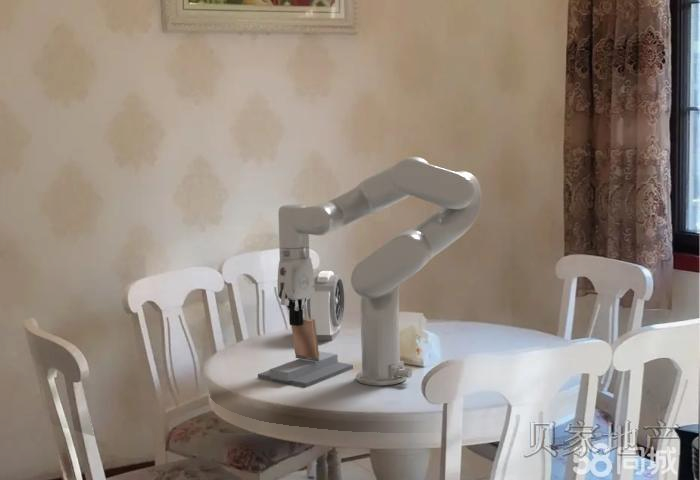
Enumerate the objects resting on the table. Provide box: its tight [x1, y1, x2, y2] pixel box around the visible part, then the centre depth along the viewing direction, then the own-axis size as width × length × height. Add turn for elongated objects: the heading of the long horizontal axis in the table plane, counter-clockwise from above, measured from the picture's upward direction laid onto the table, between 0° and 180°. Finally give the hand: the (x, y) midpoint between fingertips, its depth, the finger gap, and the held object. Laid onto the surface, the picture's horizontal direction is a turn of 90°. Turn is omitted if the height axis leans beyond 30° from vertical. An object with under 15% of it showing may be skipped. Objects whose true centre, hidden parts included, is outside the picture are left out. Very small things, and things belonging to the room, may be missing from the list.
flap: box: [290, 317, 319, 361], centre depth 216 cm, size 7×11×1 cm
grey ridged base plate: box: [257, 350, 354, 388], centre depth 217 cm, size 16×20×3 cm
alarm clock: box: [306, 270, 346, 342], centre depth 256 cm, size 18×8×20 cm, turn 168°
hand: (296, 324), depth 214 cm, fingers closed
